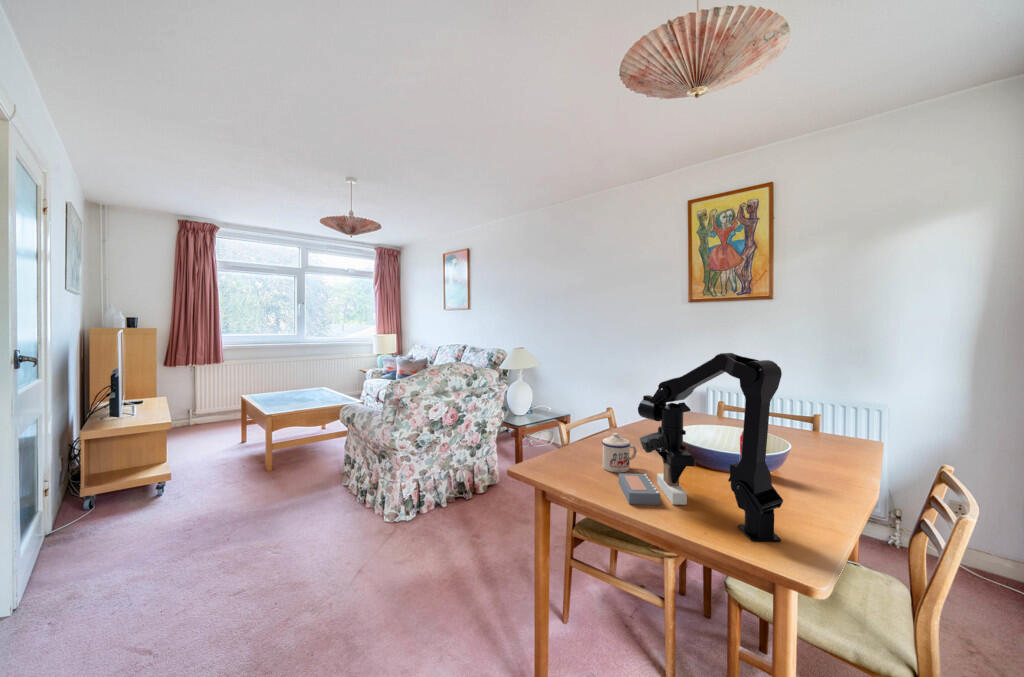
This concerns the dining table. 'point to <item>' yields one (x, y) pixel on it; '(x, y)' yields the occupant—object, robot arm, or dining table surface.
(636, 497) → the grey flat block
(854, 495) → the dining table surface
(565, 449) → the dining table surface
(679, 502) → the stub
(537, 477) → the dining table surface
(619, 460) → the teacup with lid
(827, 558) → the dining table surface
